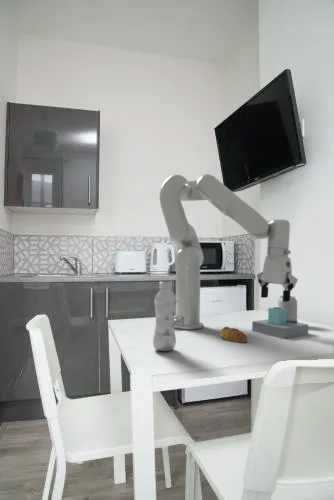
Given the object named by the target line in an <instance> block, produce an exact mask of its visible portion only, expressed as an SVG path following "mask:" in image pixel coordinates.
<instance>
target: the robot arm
mask: <svg viewBox="0 0 334 500" xmlns="http://www.w3.org/2000/svg"><path fill="white" fill-rule="evenodd" d="M186 178H187V177H185V176H184V175H181V174H173V175H170V176H169V177H168V178H166V179H165V180H164V182H163V183H162V184H161V185H162V186H161V187H160V191H159V204H160V208H161V212H162V214H163V217H164V221H165V224H166V228H167V232H168V234H169V238H170V240H171V241H172V242H173V243H175V245H176V246H177V250H178V251H177V253H176V255H175V278H176V279H175V296H176V299H177V303H176V309H175V318H174V329H178V330H179V329H180V330H200V329H203V328H204V322H201V320H200V319H201V318H200V317H201V316H200V315H201V266H202V265H203V263H204V259H205V258H204V253H203V251H202V250H203V249H202V247H201V243H200V241H199V238H198V235H197V233H196V230H195V228H194V227H193V226H192V225H191V224H190V223H189V221H188V218H187V215H186V213H185V209H184V206H183V204H182V202H192V201H193V202H194V201H196V202H197V201H208V202H209V203H211V204H212V206H214V208H216V209H217V210H218V211H219V212H220V213H222V214H223V215H224V216H225V217H226V216H227V217H229V218H231V219H232V220H233V221H234V222H236V224H238V225H239V226H240V227H242V228H243V230H245V231H246V232H247V234H248V235H249V237H251V238H252V239H255V240H261V239H267V247H266V256H265V258H264V261H263V266H262V267H263V268H262V271H261V272H259V273H258V274H256V278H257V282H258V284H259V286H260V287H261V290H260V292H261V293H260V297H261V298H268V296H269V287H268V285H270V284H274V285H282V287H283V289H284V290H283V291H282V296H283V301H284V302H287V301H290V296H291V291H293V289H294V288H295V286H296V284H298V283H297V282H298V280H299V279H298V278H297V277H296V276H294V275H293V273H292V270H293V269H292V261H291V257H289V255H291V253H292V252H291V250H290V249H289V247H290V233H291V232H290V230H291V224H290V222H289V220H286V219H272V220H271V219H270V221H268V220H267V219H266V218H265V217H264V216H263V215H261V214H260V213H259V212H257V210H255V209H254V208H253V207H252V206H250V205H249V204H248V203H246V202H245V201H244V200H243V199H242V198H241V197H240V196H238V195H237V194H235V193H234V192H233V191H232V190H231V189H229V188H228V187H227V186H226V185H225V184H224V183H222V182H221V181H220V180H219V179H218V178H217V177H215V176H214V175H212V174H209V173H206V174H203V175H201V176H200V177H199V178H198V180H189V181H188V179H186Z"/></svg>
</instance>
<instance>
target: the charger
mask: <svg viewBox="0 0 334 500" xmlns="http://www.w3.org/2000/svg"><path fill="white" fill-rule="evenodd" d="M267 310H268V312H267V313H268V317H267V318H268V323H269V324H274V325H278V326H280V325H286V309H284V308H278V306H274V307H268V309H267Z"/></svg>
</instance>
